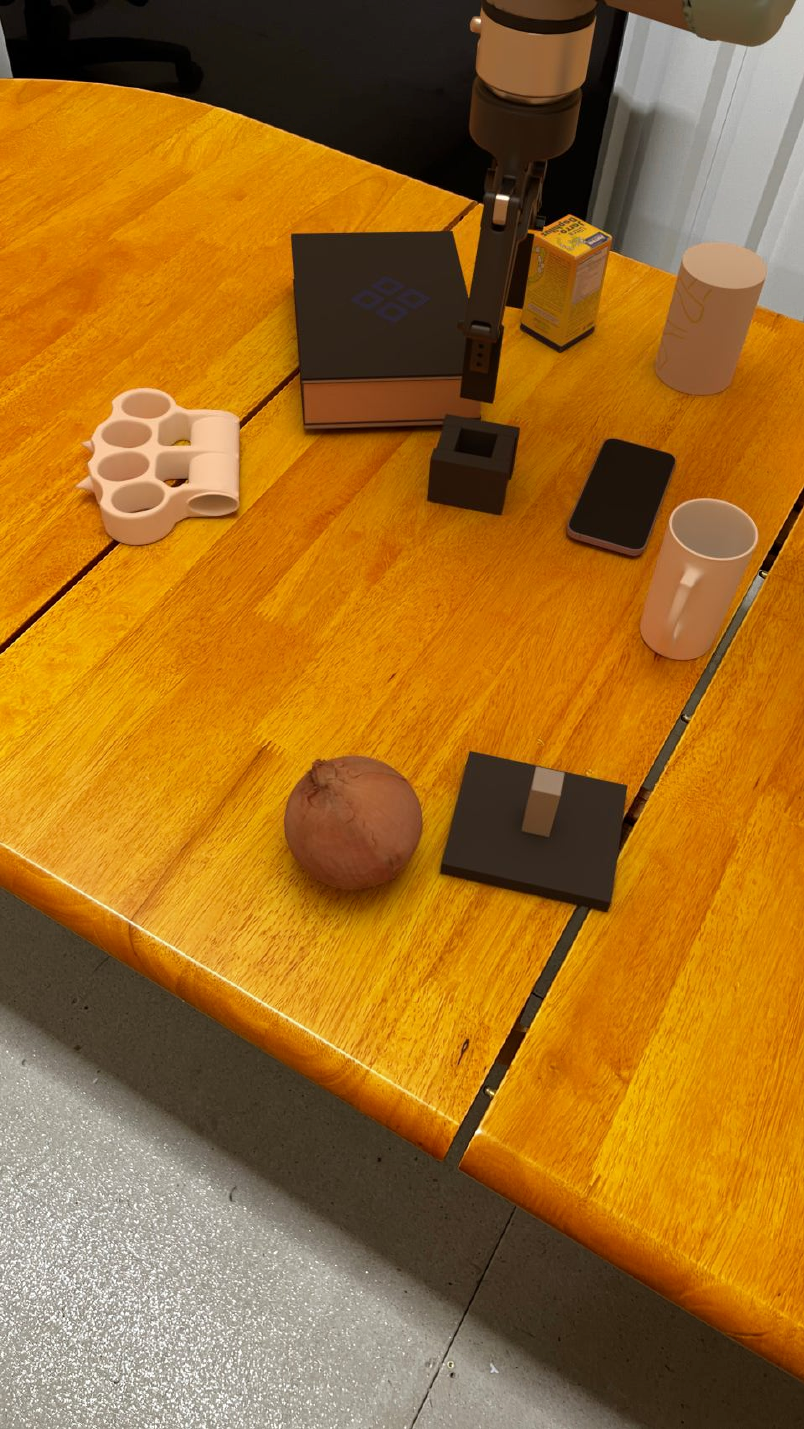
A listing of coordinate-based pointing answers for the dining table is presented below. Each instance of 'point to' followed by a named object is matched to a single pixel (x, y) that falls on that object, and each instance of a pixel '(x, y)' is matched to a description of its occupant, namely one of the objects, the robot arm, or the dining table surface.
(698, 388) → the beige cylinder
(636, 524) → the smartphone
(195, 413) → the knuckle duster
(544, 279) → the supplement box
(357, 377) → the book
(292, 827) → the onion
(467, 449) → the black hollow block
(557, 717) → the dining table surface
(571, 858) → the base pad
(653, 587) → the mug
